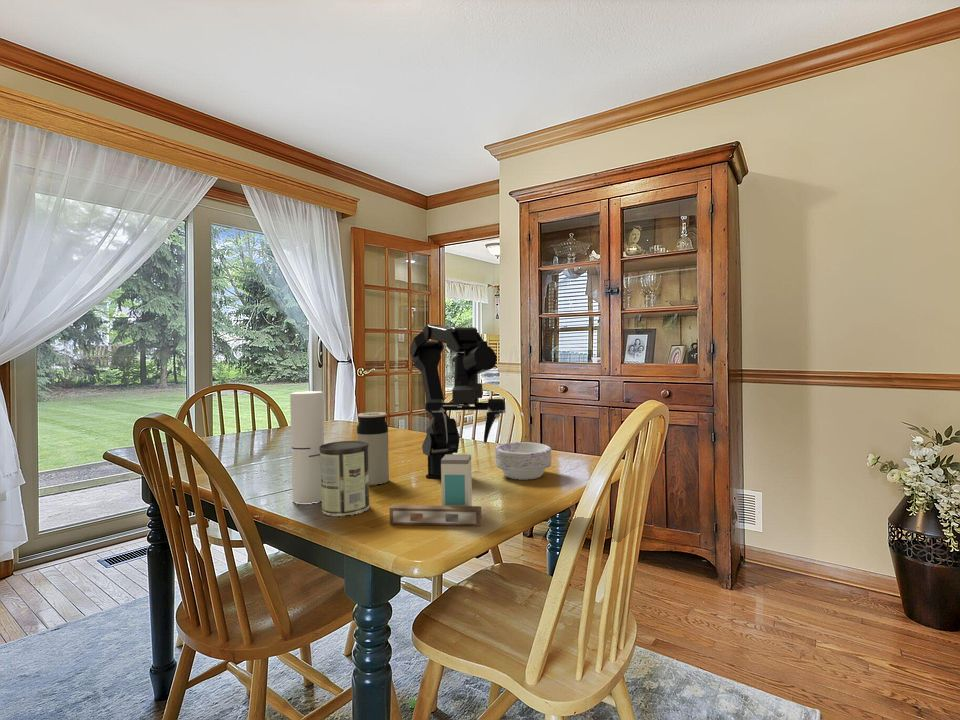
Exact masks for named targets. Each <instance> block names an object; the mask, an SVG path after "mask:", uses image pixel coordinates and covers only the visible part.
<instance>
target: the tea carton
mask: <svg viewBox="0 0 960 720" xmlns="http://www.w3.org/2000/svg"><path fill="white" fill-rule="evenodd" d="M440 480H441V482H440V483H441V485H440V486H441V487H440V488H441V506H473V497H472V496H473V492H472V491H473V489H472V487H473V486H472V485H473V483H472V482H473V481H472V454H459V453H453V454H445V456H444V457H443V458H442V459H441V478H440Z"/></svg>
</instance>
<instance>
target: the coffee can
mask: <svg viewBox="0 0 960 720" xmlns="http://www.w3.org/2000/svg"><path fill="white" fill-rule="evenodd" d="M368 446H369V444H368V443H367V442H363V441H357V440H341V441H332V442H329V443H324V445H321V446H320V447H319V449H320V464H321V496H322V502H321V513H322V512H323V513H324V514H329V515H335V516H334V517H338V516H340V517H346V516H345V515H351V516H355V515H354V514H356V515H359V514H363V513H365V512H367V511H368V510H370V507H371V506H370V505H371V504H370V486H369V473H368ZM364 511H365V512H364ZM323 513H322V514H323ZM358 513H359V514H358ZM324 514H323V515H324ZM337 515H338V516H337Z"/></svg>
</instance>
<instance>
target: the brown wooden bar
mask: <svg viewBox="0 0 960 720" xmlns="http://www.w3.org/2000/svg"><path fill="white" fill-rule="evenodd" d="M389 525H406V526H407V525H410V526H412V525H413V526H417V525H418V526H419V525H420V526H424V525H425V526H456V525H457V526H461V527H463V526H466V527H469V526H471V527H481V526H482V506H478V505H477V506H476V505H472V506H442V505H419V504H418V505H417V504H416V505H415V504H411V505H410V504H391V506H390V507H389Z"/></svg>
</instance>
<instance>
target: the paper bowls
mask: <svg viewBox="0 0 960 720" xmlns="http://www.w3.org/2000/svg"><path fill="white" fill-rule="evenodd" d="M494 456H495V457H494V464H495V467H497V468H498V469H501V471H502V473H503V475H504V476H505V477H506V478H508V479H513V480H517V479H518V480H519V481H528V480H529V479H530V480H535V479H538V478H541V477H542V476H543V474H544V472H545V470H546V469H549V468H551V466H552V448H551V446H549V445H547V444H544V443H538V442H531V441H530V442H529V441H528V442H526V441H522V442H521V441H520V442H519V441H518V442H517V441H516V442H515V441H514V442H506V443H501V444H498V445H496V446H495V449H494ZM518 480H517V481H518ZM530 480H529V481H530Z"/></svg>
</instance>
